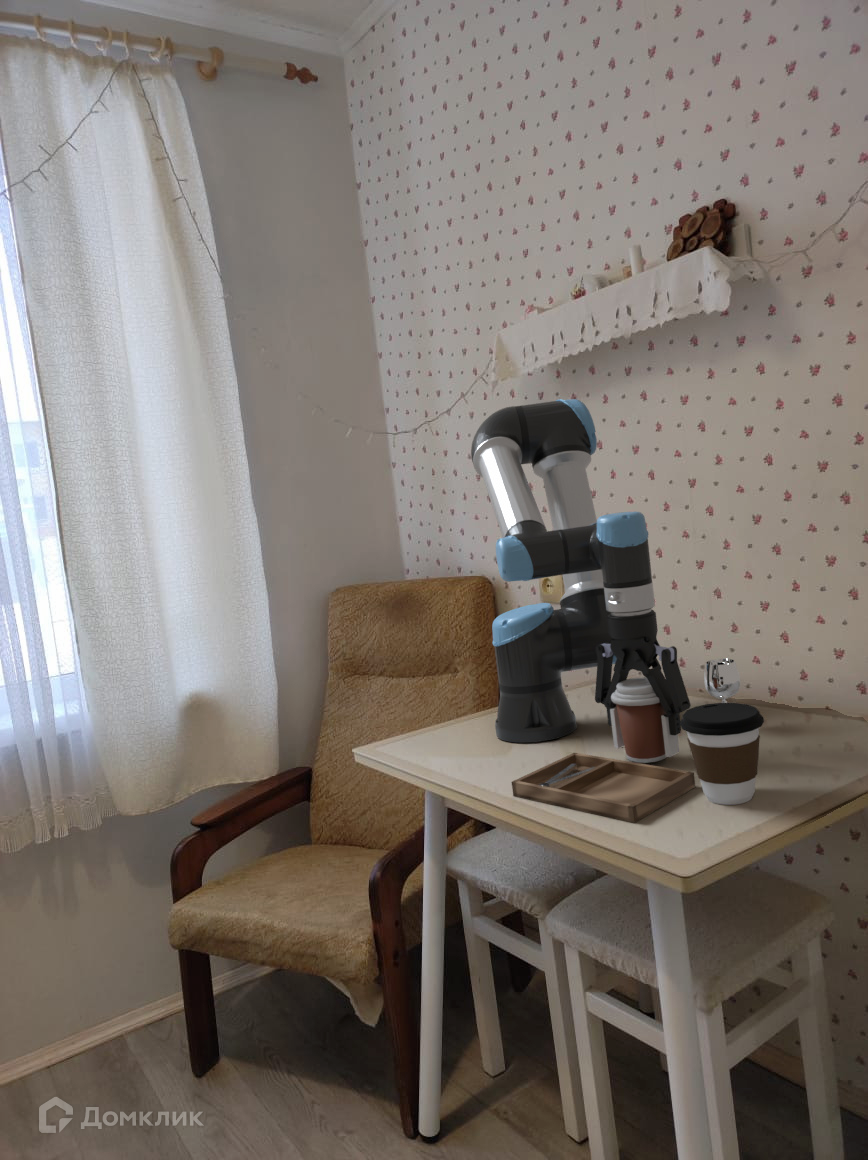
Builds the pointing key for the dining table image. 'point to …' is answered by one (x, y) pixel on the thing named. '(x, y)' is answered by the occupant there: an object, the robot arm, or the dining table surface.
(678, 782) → the walnut caddy
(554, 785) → the steel tongs
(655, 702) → the coffee cup
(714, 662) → the wineglass
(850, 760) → the dining table surface
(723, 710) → the coffee cup
